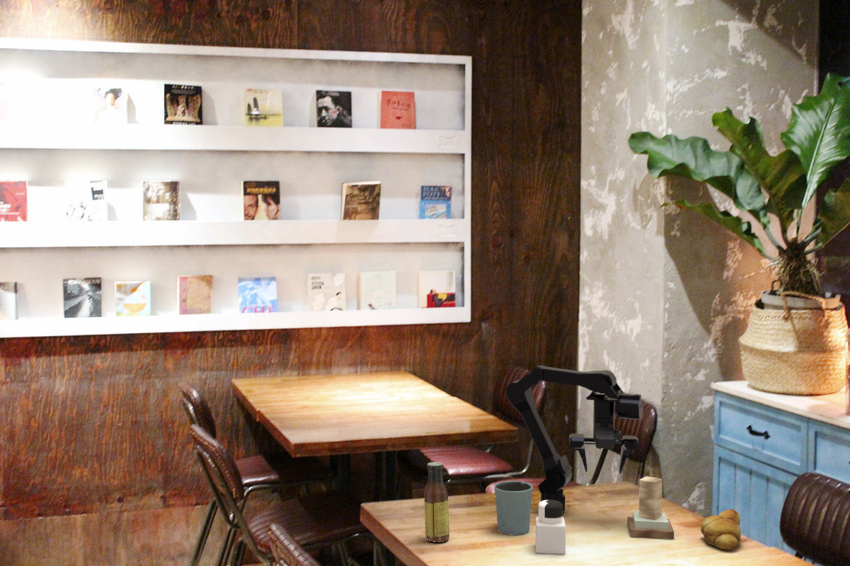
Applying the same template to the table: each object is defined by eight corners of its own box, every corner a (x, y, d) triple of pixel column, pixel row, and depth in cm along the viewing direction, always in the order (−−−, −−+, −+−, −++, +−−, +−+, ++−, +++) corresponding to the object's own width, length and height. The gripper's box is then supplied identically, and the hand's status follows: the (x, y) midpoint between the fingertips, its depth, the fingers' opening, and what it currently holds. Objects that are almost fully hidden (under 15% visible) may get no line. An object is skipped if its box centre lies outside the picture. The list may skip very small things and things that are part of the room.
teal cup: (537, 527, 236) (537, 483, 235) (525, 538, 226) (525, 492, 226) (501, 522, 240) (501, 478, 239) (488, 533, 231) (488, 488, 230)
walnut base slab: (630, 537, 228) (630, 529, 228) (627, 523, 239) (627, 516, 239) (673, 539, 226) (674, 531, 226) (668, 526, 237) (669, 518, 237)
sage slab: (635, 528, 229) (635, 520, 229) (632, 518, 237) (632, 510, 237) (668, 530, 227) (668, 522, 227) (664, 519, 236) (664, 512, 236)
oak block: (638, 517, 232) (639, 479, 231) (645, 512, 235) (645, 476, 235) (655, 520, 229) (655, 482, 229) (661, 516, 233) (662, 478, 232)
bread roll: (743, 554, 216) (743, 522, 215) (701, 550, 218) (702, 518, 218) (738, 537, 228) (739, 507, 228) (699, 534, 231) (700, 504, 230)
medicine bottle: (563, 544, 222) (564, 498, 221) (565, 554, 215) (566, 506, 214) (535, 543, 223) (535, 497, 222) (536, 553, 215) (536, 505, 215)
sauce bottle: (452, 537, 227) (452, 461, 226) (445, 545, 221) (445, 467, 220) (428, 534, 229) (428, 459, 228) (420, 542, 223) (420, 465, 222)
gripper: (569, 421, 235) (569, 478, 236) (641, 423, 232) (640, 481, 233) (569, 413, 246) (569, 468, 247) (637, 415, 243) (636, 471, 244)
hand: (603, 472), depth 243 cm, fingers open, 9 cm apart
